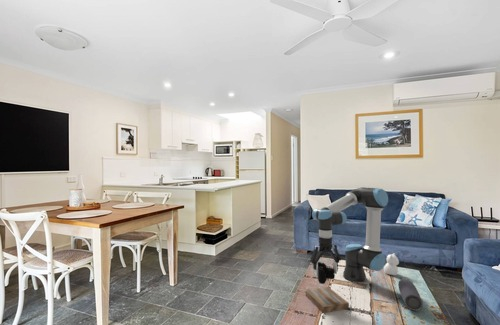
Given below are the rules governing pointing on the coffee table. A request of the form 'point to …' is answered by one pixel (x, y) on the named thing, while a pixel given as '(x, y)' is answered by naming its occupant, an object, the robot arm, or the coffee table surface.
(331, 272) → the film camera
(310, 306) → the coffee table surface
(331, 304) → the wooden pallet
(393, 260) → the cat figurine
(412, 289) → the bluetooth speaker
